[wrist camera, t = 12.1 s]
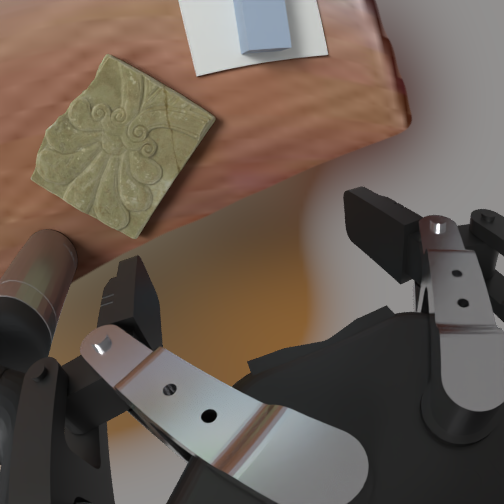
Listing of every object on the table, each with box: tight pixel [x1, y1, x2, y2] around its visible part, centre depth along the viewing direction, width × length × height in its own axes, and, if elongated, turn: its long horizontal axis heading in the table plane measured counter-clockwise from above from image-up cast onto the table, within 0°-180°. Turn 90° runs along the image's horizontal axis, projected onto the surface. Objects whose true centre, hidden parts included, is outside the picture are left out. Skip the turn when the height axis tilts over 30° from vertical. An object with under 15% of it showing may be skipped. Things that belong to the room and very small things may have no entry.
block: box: [233, 0, 292, 54], centre depth 32 cm, size 12×6×4 cm, turn 7°
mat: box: [178, 0, 328, 76], centre depth 34 cm, size 19×15×1 cm
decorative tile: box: [31, 54, 215, 239], centre depth 37 cm, size 19×20×4 cm
